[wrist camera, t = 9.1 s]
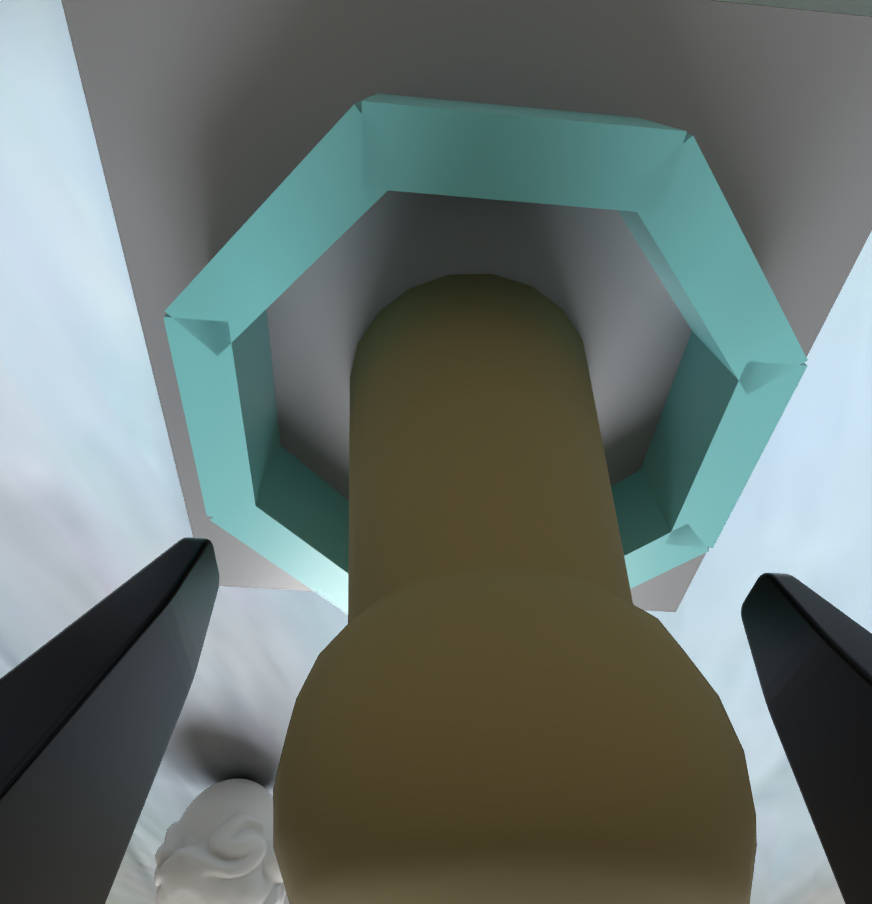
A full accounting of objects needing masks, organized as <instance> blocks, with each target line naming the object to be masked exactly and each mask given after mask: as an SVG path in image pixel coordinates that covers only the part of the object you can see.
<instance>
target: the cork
mask: <svg viewBox="0 0 872 904" xmlns="http://www.w3.org/2000/svg"><path fill="white" fill-rule="evenodd" d="M756 847H757V843H756V813H755V808H754V802H753V797H752V792H751V786H750V781H749V776H748V770H747V765H746V760H745V754H744V750H743V748H742V746H741V744H740V741H739V739H738V737H737V735H736V733H735V731H734V728H733V726H732V724H731V722H730V720H729V717H728V715H727V713H726V711H725V709H724V707H723V704H722V702H721V700H720V698H719V696H718V694H717V693H716V692H715V691H714V689H713V688H712V687H711V685H710V684H709V683H708V681H707V680H706V679H705V677H704V676H703V675H702V673H701V672H700V671H699V670H698V668H697V667H696V666H695V664H694V663H693V662H692V660H691V659H690V658H689V656H688V655H687V654H686V653H685V651H684V650H683V649H682V648H681V646H680V645H679V644H678V643H677V641H676V640H675V639H674V638H673V637H672V635H671V634H670V633H669V632H668V631H667V629H666V628H665V627H664V626H663V624H662V623H661V622H660V621H659V620H658V618H656V617H654V616H652V615H651V614H649V613H647V612H646V611H644V610H642V609H640V608H639V607H637V606H635V605H633V600H632V595H631V590H630V585H629V579H628V574H627V569H626V563H625V558H624V553H623V548H622V542H621V537H620V532H619V527H618V521H617V516H616V511H615V505H614V500H613V495H612V490H611V484H610V479H609V474H608V469H607V463H606V458H605V453H604V447H603V442H602V437H601V432H600V426H599V421H598V416H597V410H596V405H595V400H594V395H593V389H592V384H591V379H590V374H589V369H588V364H587V359H586V354H585V349H584V345H583V340H582V338H581V337H580V335H579V334H578V332H577V330H576V329H575V327H574V326H573V324H572V323H571V321H570V320H569V318H568V317H567V315H566V313H565V312H564V310H563V309H562V308H560V307H559V306H558V305H556V304H555V303H554V302H552V301H551V300H550V299H548V298H547V297H546V296H544V295H543V294H542V293H540V292H539V291H538V290H536V289H535V288H533V287H532V286H530V285H527V284H523V283H520V282H517V281H514V280H510V279H507V278H504V277H501V276H497V275H494V274H457V275H447V276H444V277H441V278H438V279H436V280H433V281H430V282H427V283H424V284H421V285H418V286H415V287H412V288H410V289H408V290H407V291H406V292H404V293H403V294H402V295H401V296H399V297H398V298H397V299H395V300H394V301H393V302H391V303H390V304H389V305H387V306H386V307H385V308H384V309H382V310H381V311H380V312H378V314H377V315H376V317H375V318H374V320H373V321H372V323H371V324H370V326H369V327H368V329H367V330H366V332H365V333H364V335H363V336H362V338H361V339H360V341H359V342H358V345H357V349H356V353H355V357H354V362H353V366H352V370H351V374H350V425H349V566H348V625H347V626H346V627H345V628H344V629H343V630H342V631H341V632H340V633H339V634H338V635H337V636H336V637H335V638H334V639H333V640H332V641H331V642H330V643H329V645H328V646H327V647H326V648H325V649H324V650H323V651H322V652H321V653H320V654H319V655H318V657H317V659H316V661H315V663H314V665H313V667H312V669H311V671H310V673H309V675H308V677H307V679H306V681H305V683H304V685H303V687H302V689H301V691H300V693H299V695H298V696H297V698H296V702H295V705H294V709H293V713H292V716H291V720H290V723H289V727H288V730H287V734H286V738H285V742H284V746H283V750H282V754H281V758H280V763H279V767H278V771H277V775H276V779H275V783H274V787H273V849H274V852H275V856H276V859H277V862H278V866H279V869H280V873H281V876H282V879H283V883H284V886H285V890H286V893H287V896H288V900H289V903H290V904H749V903H750V895H751V887H752V879H753V871H754V863H755V855H756Z"/></svg>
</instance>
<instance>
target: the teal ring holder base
mask: <svg viewBox="0 0 872 904" xmlns="http://www.w3.org/2000/svg"><path fill="white" fill-rule="evenodd" d="M62 4H63V8H64V13H65V17H66V21H67V25H68V29H69V33H70V37H71V41H72V45H73V49H74V53H75V57H76V61H77V65H78V70H79V74H80V78H81V82H82V86H83V90H84V94H85V98H86V102H87V106H88V110H89V114H90V118H91V122H92V127H93V131H94V135H95V139H96V143H97V147H98V151H99V155H100V159H101V163H102V167H103V171H104V175H105V179H106V184H107V188H108V192H109V196H110V200H111V204H112V208H113V212H114V216H115V220H116V224H117V228H118V232H119V236H120V241H121V245H122V249H123V253H124V257H125V261H126V265H127V269H128V273H129V277H130V281H131V285H132V289H133V293H134V298H135V302H136V306H137V310H138V314H139V318H140V322H141V326H142V330H143V334H144V338H145V342H146V346H147V350H148V355H149V359H150V363H151V367H152V371H153V375H154V379H155V383H156V387H157V391H158V395H159V399H160V403H161V407H162V412H163V416H164V420H165V424H166V428H167V432H168V436H169V440H170V444H171V448H172V452H173V456H174V460H175V464H176V469H177V473H178V477H179V481H180V485H181V489H182V493H183V497H184V501H185V505H186V509H187V513H188V517H189V521H190V526H191V530H192V534H193V538H204V539H209V540H210V541H211V542H212V544H213V547H214V551H215V556H216V561H217V565H218V570H219V576H220V580H219V586H230V587H247V588H265V589H282V590H300V591H314V592H316V593H317V594H319V595H320V596H322V597H323V598H324V599H326V600H327V601H329V602H330V603H332V604H333V605H335V606H336V607H338V608H339V609H341V610H342V611H343V612H345V613H346V614H348V566H349V425H350V374H351V370H352V366H353V362H354V357H355V353H356V349H357V345H358V342H359V341H360V339H361V338H362V336H363V335H364V333H365V332H366V330H367V329H368V327H369V326H370V324H371V323H372V321H373V320H374V318H375V317H376V315H377V314H378V312H380V311H381V310H382V309H384V308H385V307H386V306H387V305H389V304H390V303H391V302H393V301H394V300H395V299H397V298H398V297H399V296H401V295H402V294H403V293H404V292H406V291H407V290H408V289H410V288H412V287H415V286H418V285H421V284H424V283H427V282H430V281H433V280H436V279H438V278H441V277H444V276H447V275H457V274H494V275H497V276H501V277H504V278H507V279H510V280H514V281H517V282H520V283H523V284H527V285H530V286H532V287H533V288H535V289H536V290H538V291H539V292H540V293H542V294H543V295H544V296H546V297H547V298H548V299H550V300H551V301H552V302H554V303H555V304H556V305H558V306H559V307H560V308H562V309H563V310H564V312H565V313H566V315H567V317H568V318H569V320H570V321H571V323H572V324H573V326H574V327H575V329H576V330H577V332H578V334H579V335H580V337H581V338H582V340H583V345H584V349H585V354H586V359H587V364H588V369H589V374H590V379H591V384H592V389H593V395H594V400H595V405H596V410H597V416H598V421H599V426H600V432H601V437H602V442H603V447H604V453H605V458H606V463H607V469H608V474H609V479H610V484H611V490H612V495H613V500H614V505H615V511H616V516H617V521H618V527H619V532H620V537H621V542H622V548H623V553H624V558H625V563H626V569H627V574H628V579H629V585H630V590H631V595H632V600H633V605H635V606H637V607H639V608H640V609H642V610H649V611H666V612H676V610H677V609H678V607H679V605H680V603H681V601H682V599H683V597H684V595H685V593H686V591H687V589H688V587H689V585H690V583H691V581H692V579H693V577H694V575H695V573H696V571H697V570H698V568H699V566H700V564H701V562H702V560H703V558H704V556H705V554H706V552H708V551H709V549H708V548H709V547H711V548H713V547H714V545H715V543H716V541H717V539H718V537H719V535H720V533H721V531H722V529H723V527H724V525H725V523H726V521H727V520H728V518H729V516H730V514H731V512H732V510H733V508H734V506H735V504H736V502H737V500H738V498H739V496H740V495H741V493H742V491H743V489H744V487H745V485H746V483H747V481H748V479H749V477H750V475H751V473H752V471H753V469H754V468H755V466H756V464H757V462H758V460H759V458H760V456H761V454H762V452H763V450H764V448H765V446H766V444H767V443H768V441H769V439H770V437H771V435H772V433H773V431H774V429H775V427H776V425H777V423H778V421H779V419H780V417H781V416H782V414H783V412H784V410H785V408H786V406H787V404H788V402H789V400H790V398H791V396H792V394H793V392H794V391H795V389H796V387H797V385H798V383H799V381H800V379H801V377H802V375H803V373H804V371H805V369H806V367H807V365H806V364H805V363H804V362H806V361H807V358H806V357H807V355H808V353H809V351H810V349H811V347H812V345H813V343H814V341H815V340H816V338H817V336H818V334H819V332H820V330H821V328H822V326H823V324H824V322H825V320H826V318H827V316H828V314H829V312H830V310H831V308H832V306H833V304H834V302H835V301H836V299H837V297H838V295H839V293H840V291H841V289H842V287H843V285H844V283H845V281H846V279H847V277H848V275H849V273H850V271H851V269H852V267H853V265H854V264H855V262H856V260H857V258H858V256H859V254H860V252H861V250H862V248H863V246H864V244H865V242H866V240H867V238H868V236H869V234H870V232H871V230H872V17H869V16H859V15H849V14H840V13H830V12H820V11H810V10H801V9H791V8H781V7H771V6H761V5H752V4H742V3H732V2H722V1H713V0H62Z"/></svg>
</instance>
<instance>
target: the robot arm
mask: <svg viewBox="0 0 872 904" xmlns="http://www.w3.org/2000/svg"><path fill="white" fill-rule="evenodd" d="M219 580H220V576H219V570H218V565H217V561H216V556H215V551H214V547H213V544H212V542H211V541H210V540H209V539H204V538H183V539H181V540H180V541H178V542H177V543H176V544H174V545H173V546H172V547H170V548H169V549H168V550H166V551H165V552H164V553H163V554H161V555H160V556H159V557H157V558H156V559H155V560H154V561H152V562H151V563H150V564H148V565H147V566H146V567H144V568H143V569H142V570H141V571H139V572H138V573H137V574H135V575H134V576H133V577H132V578H130V579H129V580H128V581H126V582H125V583H124V584H122V585H121V586H120V587H119V588H117V589H116V590H115V591H113V592H112V593H111V594H110V595H108V596H107V597H106V598H104V599H103V600H102V601H100V602H99V603H98V604H97V605H95V606H94V607H93V608H91V609H90V610H89V611H88V612H86V613H85V614H84V615H82V616H81V617H80V618H78V619H77V620H76V621H75V622H73V623H72V624H71V625H69V626H68V627H67V628H65V629H64V630H63V631H62V632H60V633H59V634H58V635H56V636H55V637H54V638H53V639H51V640H50V641H49V642H47V643H46V644H45V645H43V646H42V647H41V648H40V649H38V650H37V651H36V652H34V653H33V654H32V655H31V656H29V657H28V658H27V659H25V660H24V661H23V662H21V663H20V664H19V665H18V666H16V667H15V668H14V669H12V670H11V671H10V672H9V673H7V674H6V675H5V676H3V677H2V678H1V679H0V904H105V903H106V900H107V897H108V895H109V892H110V890H111V887H112V885H113V882H114V880H115V877H116V875H117V872H118V870H119V867H120V865H121V862H122V859H123V857H124V854H125V852H126V849H127V847H128V844H129V842H130V839H131V837H132V834H133V832H134V829H135V827H136V824H137V822H138V819H139V816H140V814H141V811H142V809H143V806H144V804H145V801H146V799H147V796H148V794H149V791H150V789H151V786H152V784H153V781H154V778H155V776H156V773H157V771H158V768H159V766H160V763H161V761H162V758H163V756H164V753H165V751H166V748H167V746H168V743H169V740H170V738H171V735H172V733H173V730H174V728H175V725H176V723H177V720H178V718H179V715H180V713H181V710H182V708H183V705H184V703H185V700H186V697H187V695H188V692H189V690H190V687H191V684H192V681H193V679H194V676H195V672H196V669H197V665H198V662H199V658H200V654H201V651H202V647H203V643H204V640H205V636H206V632H207V629H208V625H209V621H210V617H211V614H212V610H213V606H214V603H215V599H216V595H217V592H218V587H219ZM741 617H742V621H743V625H744V628H745V632H746V635H747V639H748V642H749V646H750V649H751V653H752V656H753V660H754V663H755V667H756V670H757V674H758V677H759V681H760V684H761V688H762V691H763V695H764V698H765V701H766V704H767V707H768V710H769V712H770V715H771V718H772V721H773V723H774V726H775V728H776V731H777V733H778V736H779V738H780V741H781V743H782V746H783V748H784V751H785V753H786V756H787V758H788V761H789V763H790V766H791V768H792V771H793V773H794V776H795V778H796V781H797V783H798V786H799V788H800V791H801V793H802V796H803V798H804V801H805V804H806V806H807V809H808V811H809V814H810V816H811V819H812V821H813V824H814V826H815V829H816V831H817V834H818V836H819V839H820V841H821V844H822V846H823V849H824V851H825V854H826V856H827V859H828V861H829V864H830V866H831V869H832V871H833V874H834V876H835V879H836V881H837V884H838V886H839V889H840V891H841V894H842V896H843V899H844V901H845V904H872V634H871V633H870V632H869V631H867V630H866V629H865V628H863V627H862V626H860V625H859V624H858V623H856V622H855V621H854V620H852V619H851V618H850V617H848V616H847V615H845V614H844V613H843V612H841V611H840V610H839V609H837V608H836V607H835V606H833V605H832V604H830V603H829V602H828V601H826V600H825V599H824V598H822V597H821V596H819V595H818V594H817V593H815V592H814V591H813V590H811V589H810V588H809V587H807V586H806V585H804V584H803V583H802V582H800V581H799V580H798V579H796V578H795V577H793V576H791V575H788V574H780V573H764V574H762V575H761V576H760V577H759V578H758V579H757V581H756V583H755V584H754V586H753V588H752V589H751V591H750V592H749V594H748V596H747V597H746V599H745V601H744V602H743V604H742V608H741Z"/></svg>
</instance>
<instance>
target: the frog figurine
mask: <svg viewBox="0 0 872 904" xmlns="http://www.w3.org/2000/svg"><path fill="white" fill-rule="evenodd" d="M155 861H156V864H157V867H156V871H155V877H154V880H155V884H156V886H158V888H157V897H156V901H157V904H283V903H284V899H285V894H286V890H285V886H284V883H283V879H282V876H281V873H280V869H279V866H278V862H277V859H276V856H275V852H274V849H273V797H272V795H271V794H270V793H269V792H268V791H267V790H266V789H265V788H264V787H263V786H261V785H260V784H258V783H256V782H254V781H251V780H247V779H229V780H225V781H221V782H219V783H216V784H214V785H212V786H210V787H209V788H207V789H206V790H204V791H203V792H202V793H201V794H199V795H198V796H197V797H196V798H195V799H194V800H193V801H192V803H191V804H190V805H189V806H188V808H187V809H186V811H185V812H184V814H183V816H182V817H181V819H180V820H179V822H175V823H173V824H172V825H171V826H170V827H169V828H168V829H167V832H166V836H165V841H164V844H162V845H161V846H160V847H159V849H158V850H157V852H156V855H155Z"/></svg>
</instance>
